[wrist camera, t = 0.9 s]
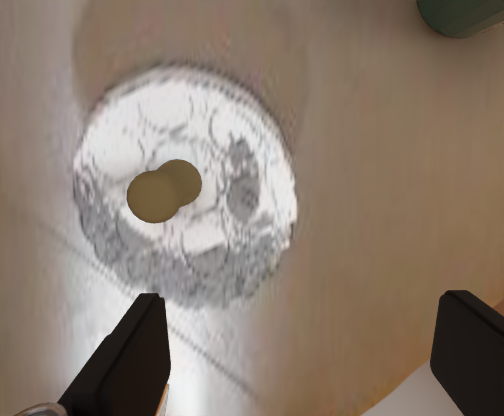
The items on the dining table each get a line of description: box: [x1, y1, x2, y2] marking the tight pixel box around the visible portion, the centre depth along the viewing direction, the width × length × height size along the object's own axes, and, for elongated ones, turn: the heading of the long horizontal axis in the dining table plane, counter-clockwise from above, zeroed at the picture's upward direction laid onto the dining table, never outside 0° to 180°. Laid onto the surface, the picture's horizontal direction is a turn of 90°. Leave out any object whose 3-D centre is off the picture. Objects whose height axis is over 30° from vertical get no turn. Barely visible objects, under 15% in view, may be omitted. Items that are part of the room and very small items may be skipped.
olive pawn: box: [127, 159, 202, 223], centre depth 33 cm, size 6×6×11 cm
